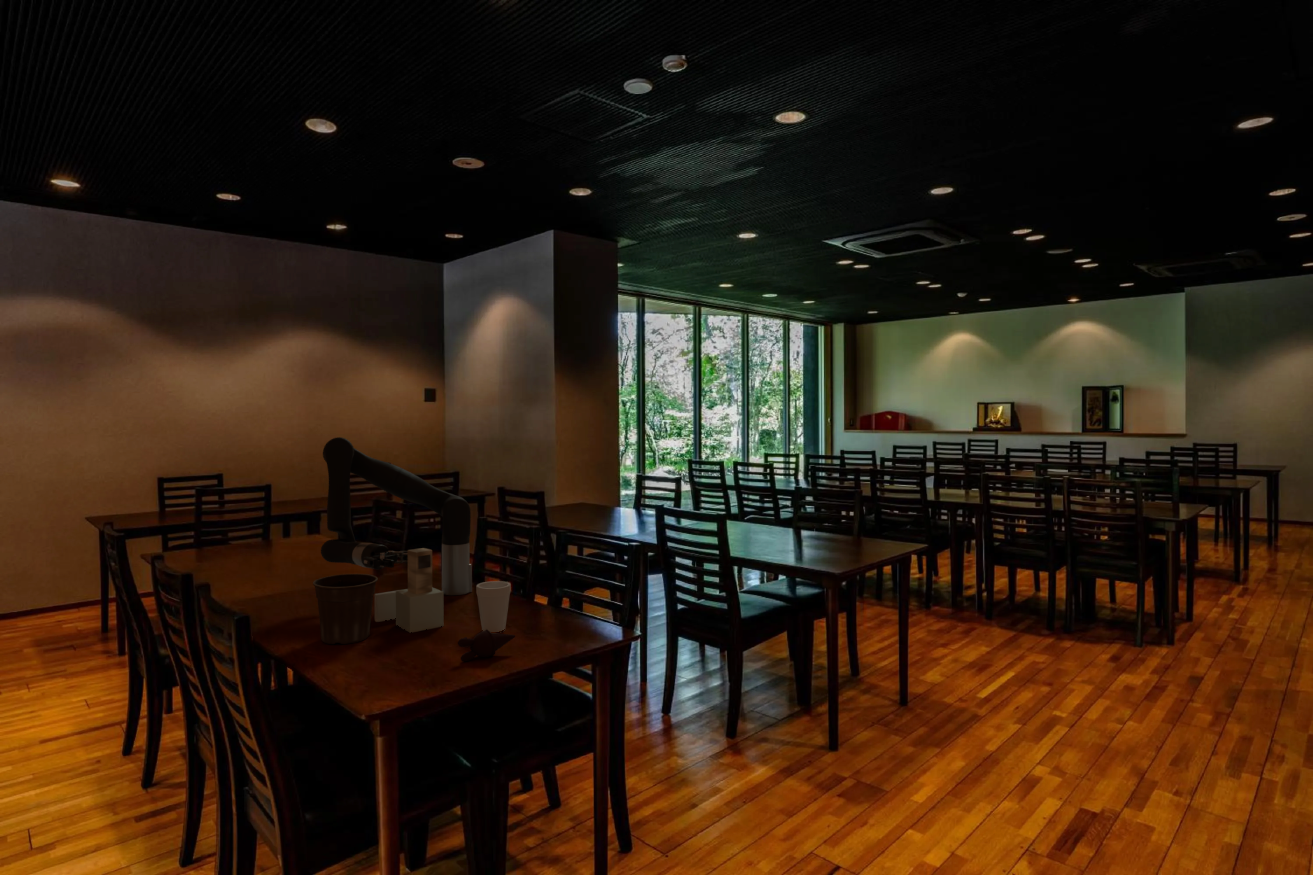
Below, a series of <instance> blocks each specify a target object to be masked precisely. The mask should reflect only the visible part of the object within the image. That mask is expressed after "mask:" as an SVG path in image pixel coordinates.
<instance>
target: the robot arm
mask: <svg viewBox="0 0 1313 875" xmlns="http://www.w3.org/2000/svg"><path fill="white" fill-rule="evenodd" d="M322 458H323V460H324V461H325V463H326V468H327V473H328V475H327V476H328V490H327V492H328V493H327V502H326V527H327V528H326V529H327V530H328V531H330V532H332V533H337V534H338V536H339V538H334V539H329V540H326V541H325V542H324V543H323V544H322V545H321V548H320V554H321V556H322V558H323V559H324V560H325V561H326V562H329V563H335V564H337V563H338V564H339V563H340V564H341V563H342V564H351V565H356V566H360V567H362V568H367V569H371V570H377V571H378V570H382V569H385V568H394V567H395V564H403V563H408V550H404V549H403V550H402V549H401V550H400V551H395V550H390V549H389V547H387V545H384V544H380V543H372V542H361V541H357V540H356V537H355V535H354V532H353V527H352V522H351V521H352V518H351V517H352V514H351V513H352V512H351V510H352V508H351V507H352V506H351V488H350V486H351V485H350V483H351V482H350V481H351V474H353V475H355V476H357V477H360V478H361V479H363V480H365V481H366V482H368V483H370V484H372V485H373V486H375V487H377V488H378V489H380V490H382V491H384V492H386V493H388V494H390V495H393V496H395V497H397V498H399V499H402V500H404V501H406V502H410V503H414V504H417V505H420V506H423V507H426V508H427V509H429V510H431V511H433V512H435V513H436V514H438V515H440V517H442V534H441V591H443V592H444V595H446V596H460V595H461V596H462V595H466V594H468V593H472V592H473V566H472V564H471V563H470V538H471V537H470V536H471V520H472V519H471V518H472V517H471V516H472V515H471V507H470V504H469V502H468V501H467V500H466V499H464V498H463V497H462V496H459V495H455V494H453V493H450V492H447V491H445V490H442V489H439V488H437V487H435V486H433V485H432V484H431V483H428V481H426V480H424V479H423V478H421V477H419V476H418V475H416V474H415V473H412V472H410V471H409V470H407V469H404V468H403V467H400V466H398V465H395V464H392V463H391V462H390V463H389V462H387V461H383V460H380V459H377V458H374V457H371V456H368V455H366V454H365V453H363V452H362V451H360V450H358V449H356V448H354V445H353V443H352V442H351V441H350V440H348V439H346V437H340V436H339V437H333V438H331V439H329V440H328V441H327V442H326V443H325V445H324V446H323V450H322Z"/></svg>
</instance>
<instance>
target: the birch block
mask: <svg viewBox="0 0 1313 875" xmlns="http://www.w3.org/2000/svg"><path fill="white" fill-rule="evenodd" d="M407 551H408V562H407V589H408V591H409V592H411V593H414V594H420V593H425V592H431V591H432V587H433V550H432V549H430V548H426V547H422V548H413V549H407Z"/></svg>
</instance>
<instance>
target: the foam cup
mask: <svg viewBox="0 0 1313 875" xmlns="http://www.w3.org/2000/svg"><path fill="white" fill-rule="evenodd" d="M511 588H512V587H511V583H510V582H508V581H504V580H503V581H502V580H500V581H499V580H497V581H493V580H492V581H490V580H489V581H485V582H484V581H483V582H480V583H477V584H476V588H475V589H476V590H475V591H476V595H477V604H478V611H479V617H480V625H481V631H482V630H483V631H485V630H486V629H487V630H488V631H490V632H499V631H502V630H504V629H505V630H506V625H507V618H508V610H509V603H510V594H511V592H512V590H511ZM505 630H504V631H505Z"/></svg>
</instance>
